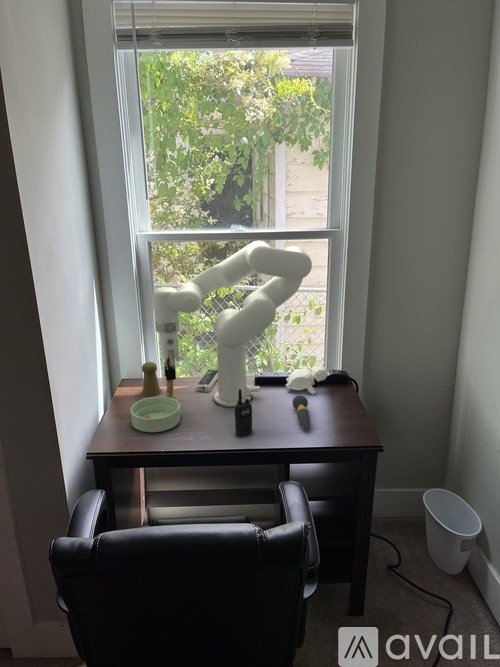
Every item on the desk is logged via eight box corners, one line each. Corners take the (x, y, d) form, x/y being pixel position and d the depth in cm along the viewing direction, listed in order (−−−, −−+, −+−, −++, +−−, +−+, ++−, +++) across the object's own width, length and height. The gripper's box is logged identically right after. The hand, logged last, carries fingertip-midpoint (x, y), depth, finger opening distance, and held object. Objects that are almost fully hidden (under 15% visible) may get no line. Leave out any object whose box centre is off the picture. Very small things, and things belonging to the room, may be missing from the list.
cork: (154, 386, 186) (151, 358, 182) (163, 392, 182) (161, 363, 178) (139, 392, 182) (136, 363, 179) (148, 397, 178) (146, 368, 174)
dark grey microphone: (318, 432, 154) (319, 417, 153) (302, 433, 154) (303, 418, 152) (304, 402, 173) (304, 389, 171) (289, 403, 172) (289, 390, 171)
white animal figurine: (291, 401, 180) (332, 388, 177) (282, 380, 178) (323, 367, 175) (292, 390, 188) (331, 378, 185) (283, 370, 186) (323, 357, 183)
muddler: (173, 395, 176) (173, 360, 172) (175, 399, 173) (175, 363, 169) (164, 396, 175) (163, 361, 171) (166, 400, 172) (165, 364, 168)
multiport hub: (219, 375, 195) (219, 370, 194) (208, 392, 181) (208, 386, 181) (208, 374, 196) (208, 369, 195) (196, 390, 182) (196, 385, 182)
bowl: (176, 407, 171) (175, 393, 169) (184, 429, 157) (183, 414, 155) (130, 414, 167) (128, 400, 165) (134, 437, 153) (132, 422, 151)
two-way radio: (238, 438, 152) (237, 392, 147) (231, 431, 155) (230, 386, 150) (254, 433, 154) (254, 388, 149) (247, 427, 158) (246, 382, 153)
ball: (145, 429, 157) (154, 424, 158) (141, 422, 156) (150, 418, 156) (144, 424, 160) (152, 419, 160) (139, 417, 158) (148, 412, 158)
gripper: (183, 332, 159) (185, 386, 165) (175, 317, 174) (177, 367, 180) (159, 334, 157) (162, 389, 163) (152, 319, 172) (156, 370, 178)
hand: (170, 377), depth 172 cm, fingers closed on muddler, 2 cm apart
